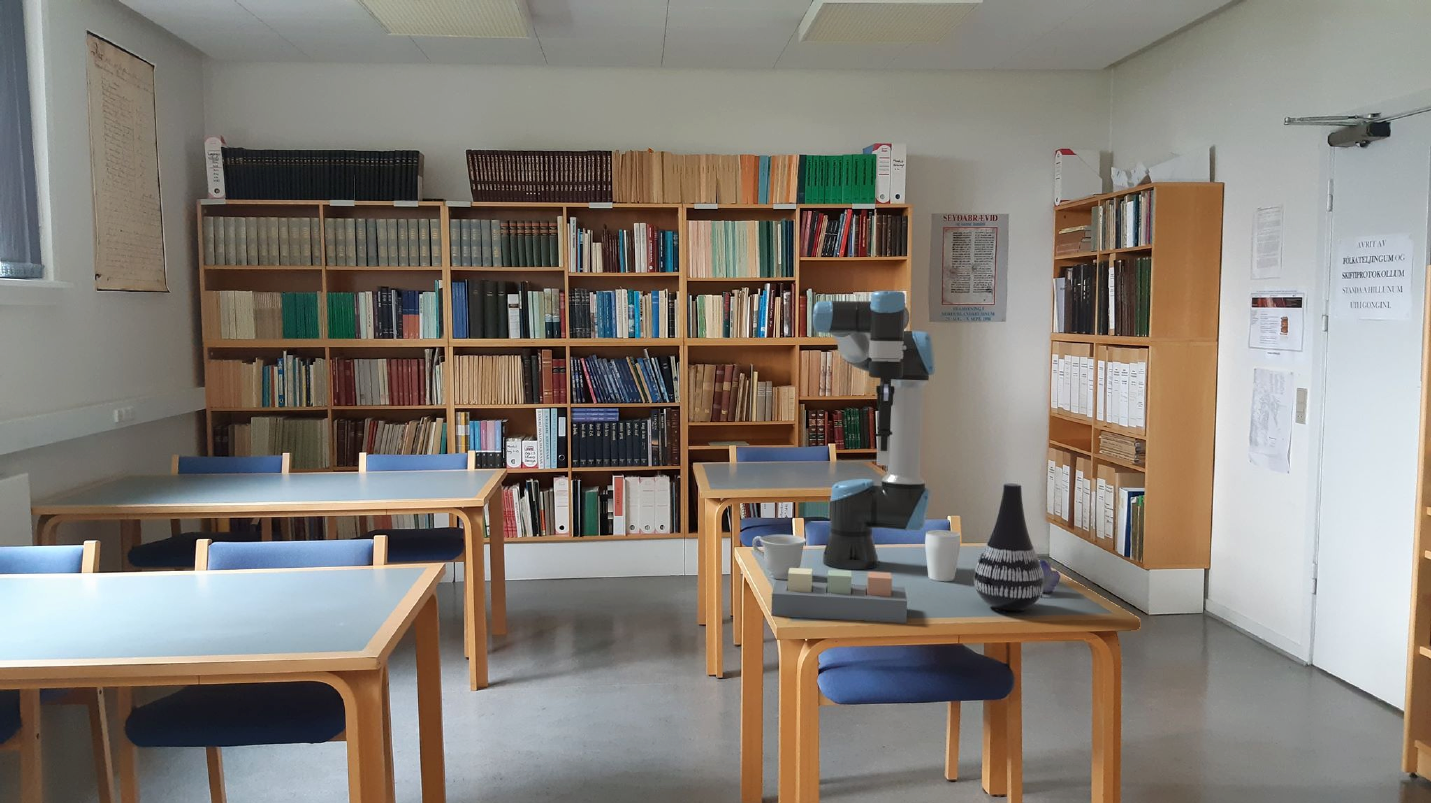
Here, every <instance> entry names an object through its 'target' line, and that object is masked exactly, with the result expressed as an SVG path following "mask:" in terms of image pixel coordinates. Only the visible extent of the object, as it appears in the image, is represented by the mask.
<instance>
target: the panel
mask: <svg viewBox="0 0 1431 803" xmlns="http://www.w3.org/2000/svg"><path fill="white" fill-rule="evenodd" d="M827 587H828V582H817V581H815V582H814V581H812V592H798V591H788V580H781V579H776V580H775V583H774V585H773V589H772V592H771V611H770V612H771V614H770V615H771V616H775V617H776V616H777V617H793V618H794V617H795V618H811V619H812V618H813V619H831V620H843V621H844V620H848V621H860V620H865V621H864V622H877V621H879V622H880V623H883V622H884V623H895V624H896V623H899V624H907V617H908V614H907V612H908V600H907V594H906V589H905V586H892V587H891V597H890V596H871V595H867V584H856V583H855V584H852V583H851V594H835V593H827ZM879 622H878V623H879Z"/></svg>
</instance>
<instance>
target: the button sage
mask: <svg viewBox="0 0 1431 803" xmlns="http://www.w3.org/2000/svg"><path fill="white" fill-rule="evenodd" d="M827 583H828V587H827V593H835V594H851V584H852V571H851V570H843V569H842V570H841V569H840V570H839V569H828V572H827Z"/></svg>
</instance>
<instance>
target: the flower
mask: <svg viewBox="0 0 1431 803" xmlns="http://www.w3.org/2000/svg"><path fill="white" fill-rule="evenodd" d="M1039 562H1040V564H1041V567H1042V570H1043V574H1044V590H1043V592H1042V593H1046V594H1049V593H1052V592H1053V591H1054V590H1055V587H1056V586H1057V584H1059V582H1060V579H1061V574H1060V573H1059V571H1058V569H1056V570H1055V569H1054V570H1053V569H1052V565H1051V563H1050V562H1048V563H1047V561H1045V560H1043V559H1041V558H1039ZM1040 598H1043V594H1042V595H1041V596H1040Z"/></svg>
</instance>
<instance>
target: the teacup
mask: <svg viewBox="0 0 1431 803" xmlns="http://www.w3.org/2000/svg"><path fill="white" fill-rule="evenodd" d="M757 541H759V542H760V545H761V546H763V551H762V550H761V549H760V548H759V547H758V545H757ZM806 543H807V539H806V538H805V537H803V536H799V535H795V534H793V535H792V534H769V535H764V536H760V535H759V536H755V537H754V538H753V539H752V548H753V550H754V551H755V553H757V554H758V555H761V557H762V558H763V559H764V564H765V567H766V569H767V570H768V571H769V572H771V578H773V579H776V580H782V581H786V580H788V572H789V568H801V563H802V560H803V558H802V557H803V551H804V546H805V544H806Z"/></svg>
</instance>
